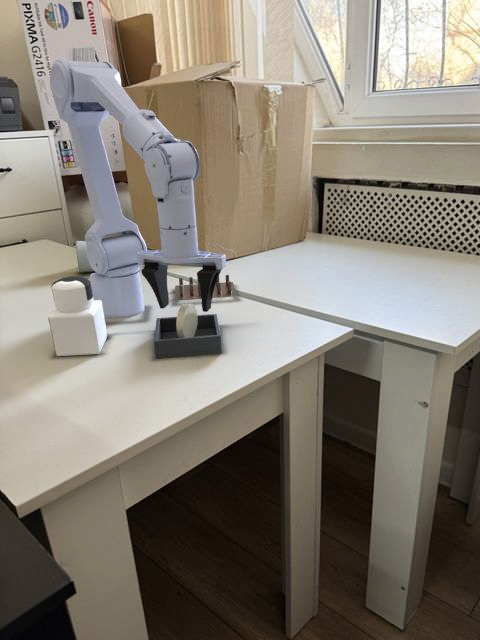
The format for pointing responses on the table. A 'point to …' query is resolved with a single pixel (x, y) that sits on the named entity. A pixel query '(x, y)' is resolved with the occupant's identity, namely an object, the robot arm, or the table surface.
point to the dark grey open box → (187, 338)
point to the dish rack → (195, 292)
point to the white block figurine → (76, 318)
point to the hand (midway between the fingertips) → (185, 308)
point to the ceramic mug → (82, 257)
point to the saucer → (186, 321)
